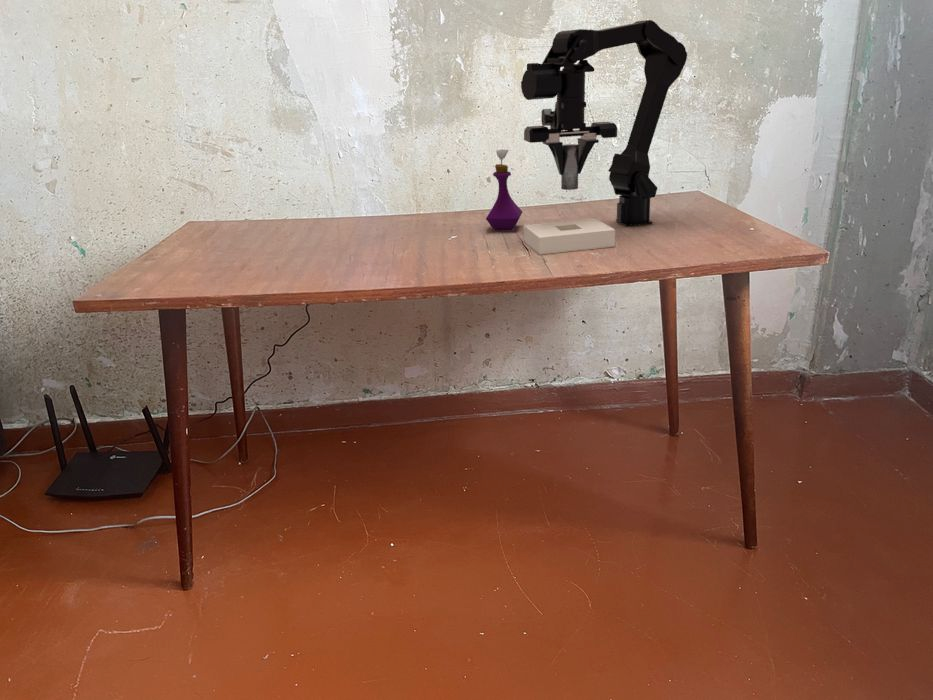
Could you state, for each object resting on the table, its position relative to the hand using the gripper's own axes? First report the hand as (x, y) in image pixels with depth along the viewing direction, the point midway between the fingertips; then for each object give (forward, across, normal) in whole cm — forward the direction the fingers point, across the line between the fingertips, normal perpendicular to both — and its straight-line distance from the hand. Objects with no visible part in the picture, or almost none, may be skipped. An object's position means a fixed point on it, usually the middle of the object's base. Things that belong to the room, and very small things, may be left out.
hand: (569, 174), depth 151 cm
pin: (+3, 0, 0) cm, 3 cm away
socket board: (+13, +2, +7) cm, 15 cm away
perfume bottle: (+14, +12, -12) cm, 22 cm away
